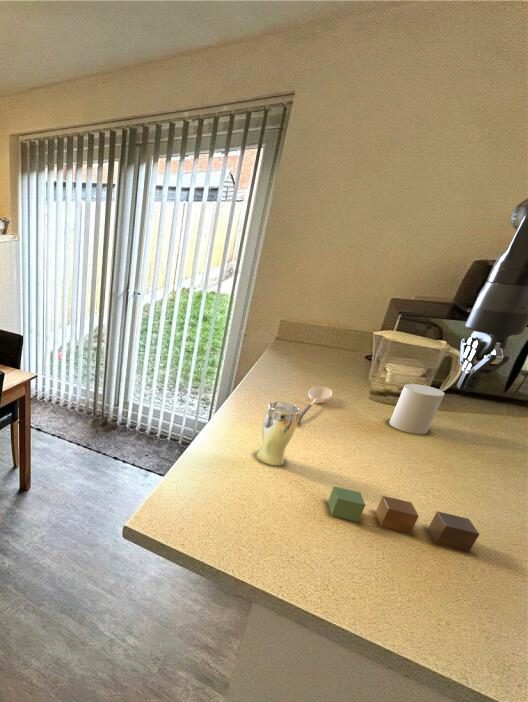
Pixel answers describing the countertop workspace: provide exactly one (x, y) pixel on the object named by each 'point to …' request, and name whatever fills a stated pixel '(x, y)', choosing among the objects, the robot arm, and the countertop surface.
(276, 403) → the beer glass
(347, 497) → the sage block
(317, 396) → the ladle
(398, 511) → the oak block
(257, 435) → the countertop surface
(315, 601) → the countertop surface
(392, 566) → the countertop surface
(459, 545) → the walnut block
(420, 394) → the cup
